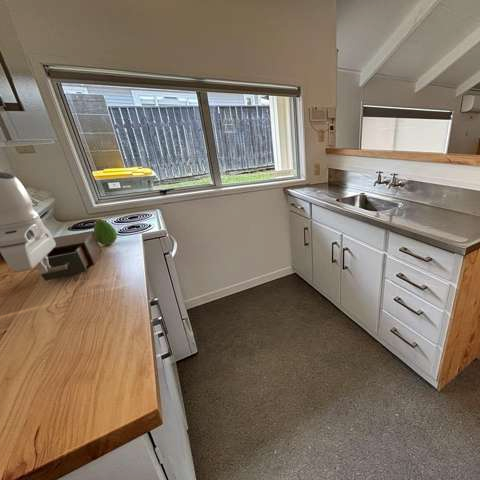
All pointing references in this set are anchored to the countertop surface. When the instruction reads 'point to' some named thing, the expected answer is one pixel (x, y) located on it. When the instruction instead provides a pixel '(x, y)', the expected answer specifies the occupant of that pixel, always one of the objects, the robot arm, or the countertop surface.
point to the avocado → (104, 232)
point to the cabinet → (81, 239)
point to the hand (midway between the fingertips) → (45, 271)
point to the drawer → (66, 262)
